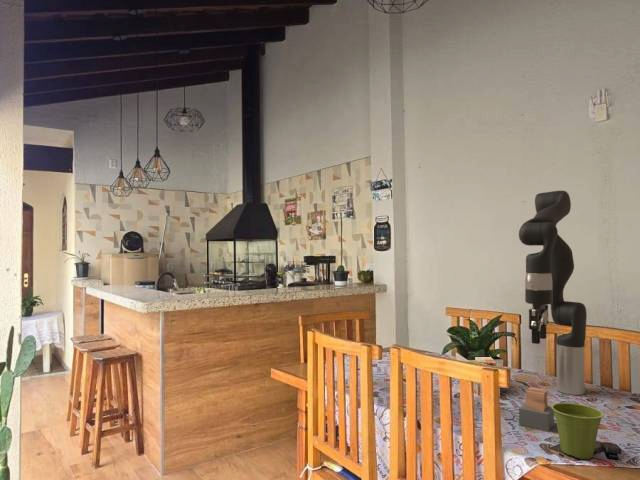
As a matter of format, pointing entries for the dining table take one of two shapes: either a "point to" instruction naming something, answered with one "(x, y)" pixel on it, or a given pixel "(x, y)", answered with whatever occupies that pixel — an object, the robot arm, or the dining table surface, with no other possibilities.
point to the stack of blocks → (486, 361)
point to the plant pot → (577, 428)
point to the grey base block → (536, 418)
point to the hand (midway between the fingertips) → (539, 340)
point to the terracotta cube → (536, 399)
